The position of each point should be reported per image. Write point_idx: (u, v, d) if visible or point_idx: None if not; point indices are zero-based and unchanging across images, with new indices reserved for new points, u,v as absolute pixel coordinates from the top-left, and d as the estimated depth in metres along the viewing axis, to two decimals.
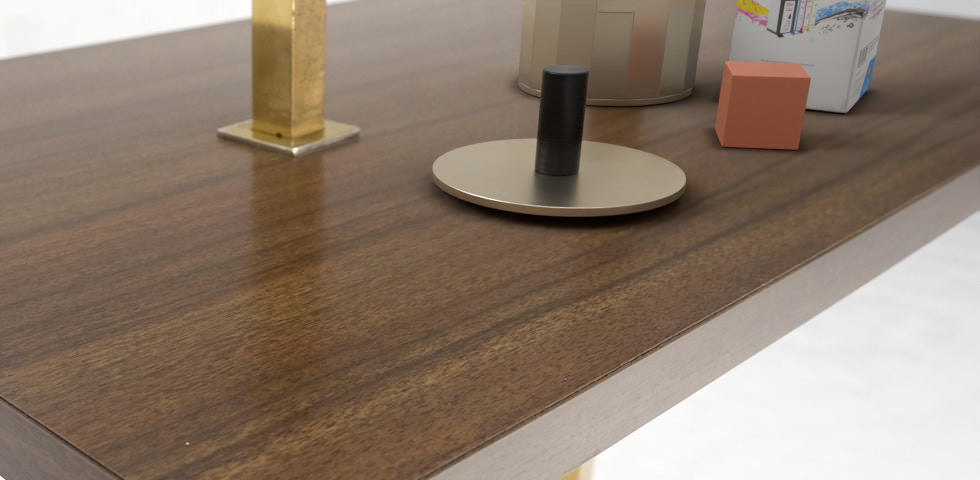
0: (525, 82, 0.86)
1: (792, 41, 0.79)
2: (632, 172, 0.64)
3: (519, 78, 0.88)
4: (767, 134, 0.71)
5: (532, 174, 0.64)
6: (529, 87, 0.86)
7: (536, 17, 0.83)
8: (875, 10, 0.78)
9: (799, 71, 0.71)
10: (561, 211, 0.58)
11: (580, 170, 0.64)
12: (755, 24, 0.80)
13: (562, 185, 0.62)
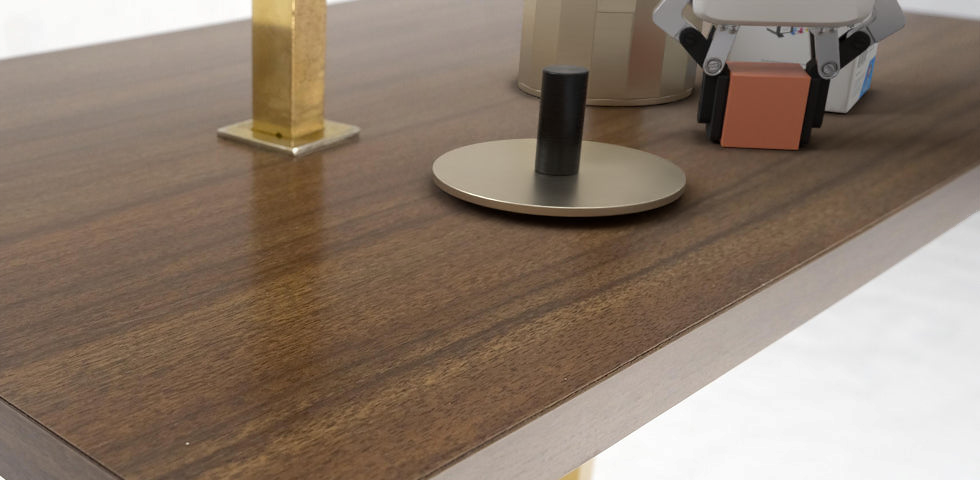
0: (525, 82, 0.86)
1: (792, 41, 0.79)
2: (632, 172, 0.64)
3: (519, 78, 0.88)
4: (767, 134, 0.71)
5: (532, 174, 0.64)
6: (529, 87, 0.86)
7: (536, 17, 0.83)
8: None
9: (799, 71, 0.71)
10: (561, 211, 0.58)
11: (580, 170, 0.64)
12: None
13: (562, 185, 0.62)
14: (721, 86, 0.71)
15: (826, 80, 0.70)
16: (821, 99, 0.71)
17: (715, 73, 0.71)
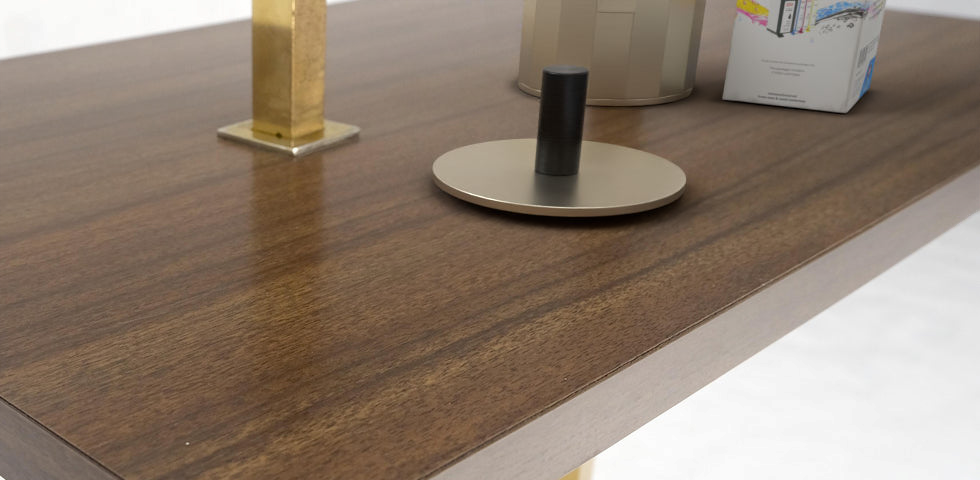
0: (525, 82, 0.86)
1: (792, 41, 0.79)
2: (632, 172, 0.64)
3: (519, 78, 0.88)
4: None
5: (532, 174, 0.64)
6: (529, 87, 0.86)
7: (536, 17, 0.83)
8: (875, 10, 0.78)
9: None
10: (561, 211, 0.58)
11: (580, 170, 0.64)
12: (755, 24, 0.80)
13: (562, 185, 0.62)
14: None
15: None
16: None
17: None
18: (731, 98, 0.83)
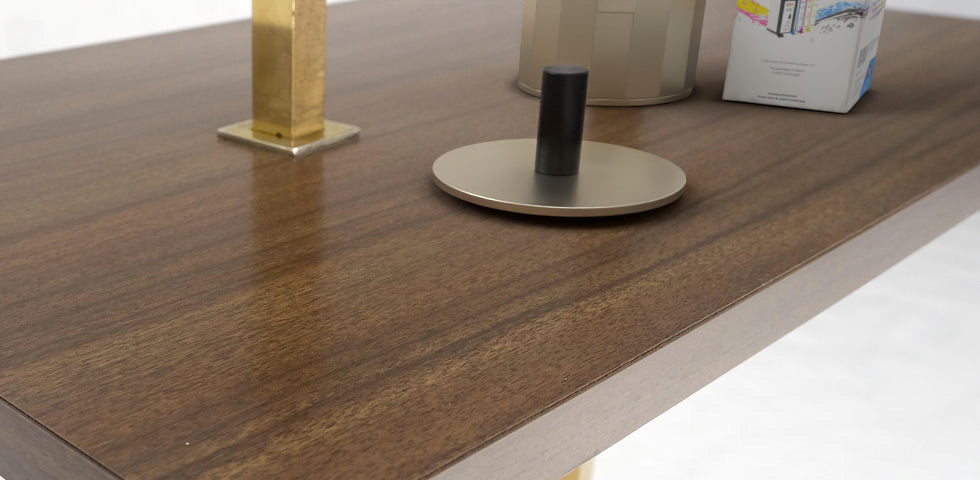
0: (525, 82, 0.86)
1: (792, 41, 0.79)
2: (632, 172, 0.64)
3: (519, 78, 0.88)
4: None
5: (532, 174, 0.64)
6: (529, 87, 0.86)
7: (536, 17, 0.83)
8: (875, 10, 0.78)
9: None
10: (561, 211, 0.58)
11: (580, 170, 0.64)
12: (755, 24, 0.80)
13: (562, 185, 0.62)
14: None
15: None
16: None
17: None
18: (731, 98, 0.83)
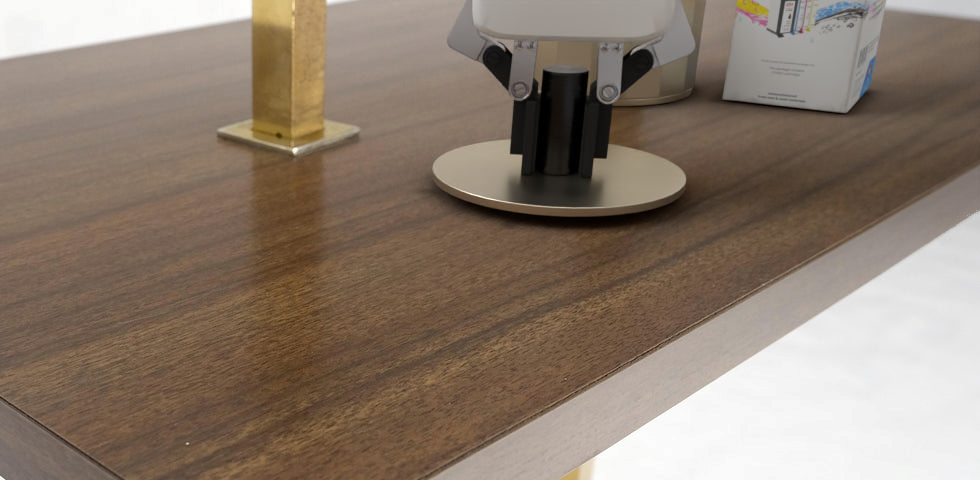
0: None
1: (792, 41, 0.79)
2: (632, 172, 0.64)
3: None
4: None
5: (532, 174, 0.64)
6: None
7: None
8: (875, 10, 0.78)
9: None
10: (561, 211, 0.58)
11: None
12: (755, 24, 0.80)
13: (562, 185, 0.62)
14: (529, 113, 0.62)
15: (608, 105, 0.61)
16: (604, 126, 0.62)
17: (523, 98, 0.62)
18: (731, 98, 0.83)
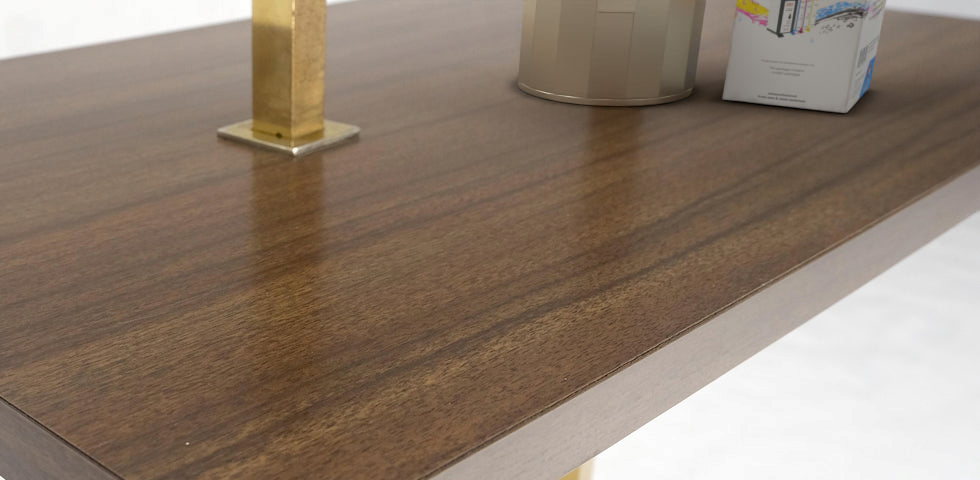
0: (525, 82, 0.86)
1: (792, 41, 0.79)
2: None
3: (519, 78, 0.88)
4: None
5: None
6: (529, 87, 0.86)
7: (536, 17, 0.83)
8: (875, 10, 0.78)
9: None
10: None
11: None
12: (755, 24, 0.80)
13: None
14: None
15: None
16: None
17: None
18: (731, 98, 0.83)
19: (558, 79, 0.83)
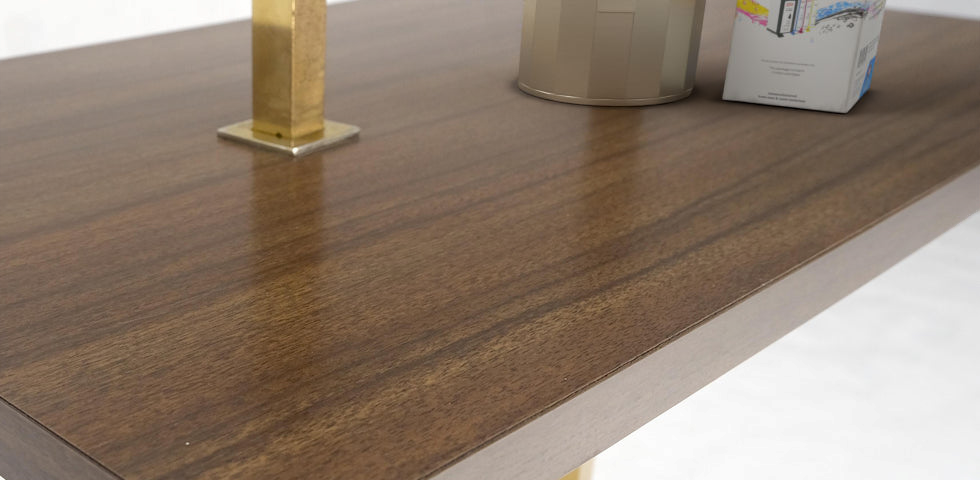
0: (525, 82, 0.86)
1: (792, 41, 0.79)
2: None
3: (519, 78, 0.88)
4: None
5: None
6: (529, 87, 0.86)
7: (536, 17, 0.83)
8: (875, 10, 0.78)
9: None
10: None
11: None
12: (755, 24, 0.80)
13: None
14: None
15: None
16: None
17: None
18: (731, 98, 0.83)
19: (558, 79, 0.83)
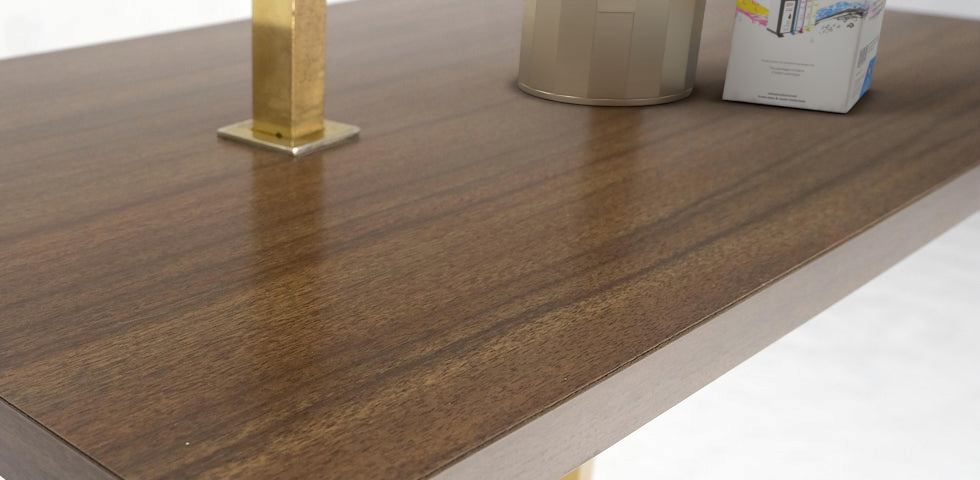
0: (525, 82, 0.86)
1: (792, 41, 0.79)
2: None
3: (519, 78, 0.88)
4: None
5: None
6: (529, 87, 0.86)
7: (536, 17, 0.83)
8: (875, 10, 0.78)
9: None
10: None
11: None
12: (755, 24, 0.80)
13: None
14: None
15: None
16: None
17: None
18: (731, 98, 0.83)
19: (558, 79, 0.83)
